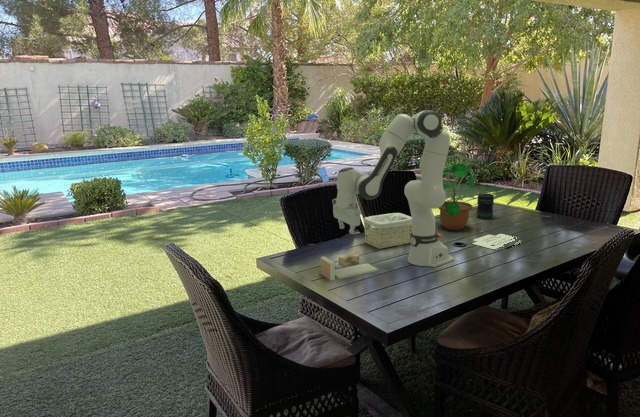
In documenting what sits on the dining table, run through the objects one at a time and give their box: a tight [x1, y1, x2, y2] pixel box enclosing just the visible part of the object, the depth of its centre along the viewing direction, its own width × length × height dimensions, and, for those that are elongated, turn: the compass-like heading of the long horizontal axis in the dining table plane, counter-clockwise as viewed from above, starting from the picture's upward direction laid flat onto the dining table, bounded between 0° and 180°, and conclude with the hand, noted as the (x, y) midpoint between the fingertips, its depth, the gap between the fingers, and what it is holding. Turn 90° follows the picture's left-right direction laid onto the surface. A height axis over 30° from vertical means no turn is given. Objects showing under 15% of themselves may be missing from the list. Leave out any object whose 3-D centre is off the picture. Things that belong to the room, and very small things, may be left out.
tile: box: [320, 255, 336, 281], centre depth 212 cm, size 2×10×8 cm, turn 25°
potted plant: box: [438, 163, 476, 231], centre depth 279 cm, size 31×29×40 cm
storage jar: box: [476, 193, 495, 221], centre depth 302 cm, size 10×10×15 cm
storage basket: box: [363, 212, 412, 250], centre depth 256 cm, size 24×16×15 cm
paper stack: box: [471, 233, 522, 250], centre depth 255 cm, size 20×28×4 cm
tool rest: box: [335, 262, 379, 280], centre depth 217 cm, size 20×9×1 cm, turn 116°
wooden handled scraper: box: [334, 253, 360, 270], centre depth 225 cm, size 17×5×4 cm, turn 116°
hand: (346, 230), depth 223 cm, fingers open, 8 cm apart
